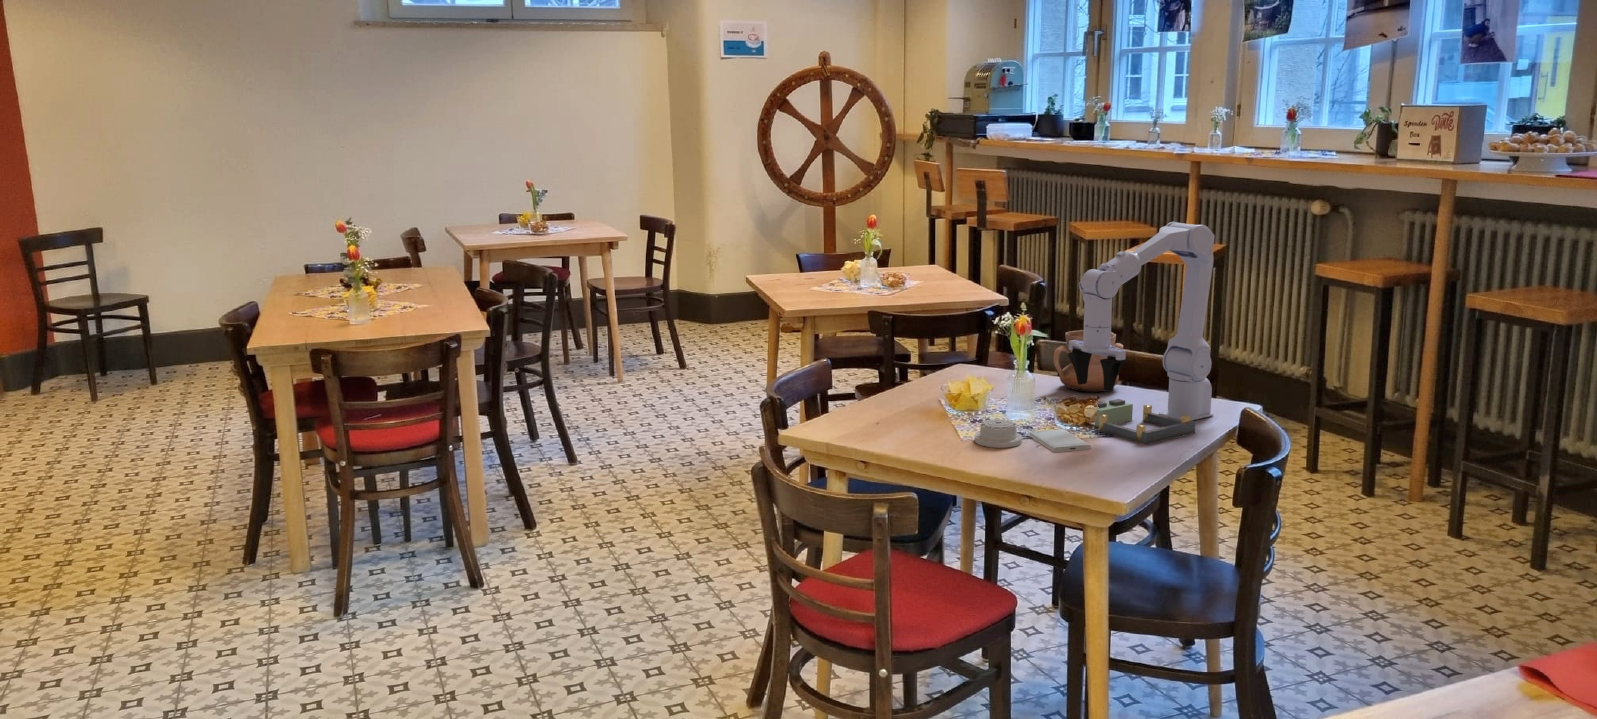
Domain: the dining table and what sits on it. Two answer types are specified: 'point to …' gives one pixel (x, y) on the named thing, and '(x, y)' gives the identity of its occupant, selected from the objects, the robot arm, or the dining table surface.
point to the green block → (1115, 411)
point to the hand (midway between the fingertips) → (1095, 387)
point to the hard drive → (1059, 440)
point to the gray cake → (998, 434)
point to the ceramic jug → (1094, 369)
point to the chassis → (1169, 430)
